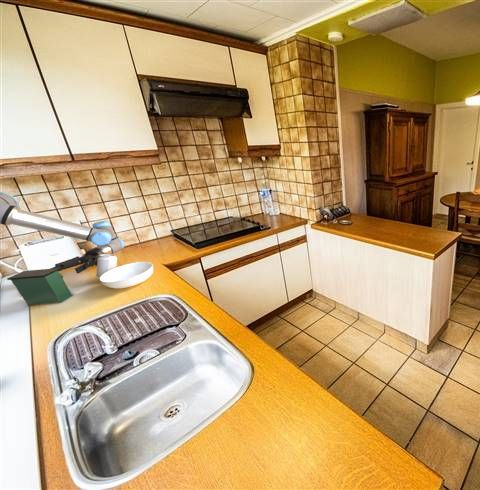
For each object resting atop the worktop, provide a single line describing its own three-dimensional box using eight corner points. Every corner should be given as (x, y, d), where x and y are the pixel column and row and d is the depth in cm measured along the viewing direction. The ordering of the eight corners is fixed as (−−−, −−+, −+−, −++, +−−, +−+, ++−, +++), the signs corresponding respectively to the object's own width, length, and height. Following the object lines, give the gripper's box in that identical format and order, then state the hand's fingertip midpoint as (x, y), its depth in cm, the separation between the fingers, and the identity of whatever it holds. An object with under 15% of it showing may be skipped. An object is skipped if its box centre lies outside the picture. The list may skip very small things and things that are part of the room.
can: (114, 274, 146) (116, 253, 145) (117, 278, 142) (118, 256, 141) (95, 275, 140) (96, 253, 139) (97, 279, 136) (98, 256, 135)
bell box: (25, 306, 121) (6, 278, 115) (41, 297, 128) (24, 270, 122) (60, 303, 122) (43, 275, 116) (74, 294, 129) (59, 267, 123)
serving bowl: (104, 299, 123) (97, 286, 121) (107, 282, 138) (101, 270, 136) (158, 282, 135) (153, 271, 132) (155, 268, 150) (151, 257, 147)
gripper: (124, 257, 153) (92, 276, 133) (78, 261, 151) (39, 280, 132) (118, 245, 150) (85, 263, 130) (72, 249, 148) (31, 267, 129)
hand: (62, 272), depth 131 cm, fingers open, 13 cm apart
